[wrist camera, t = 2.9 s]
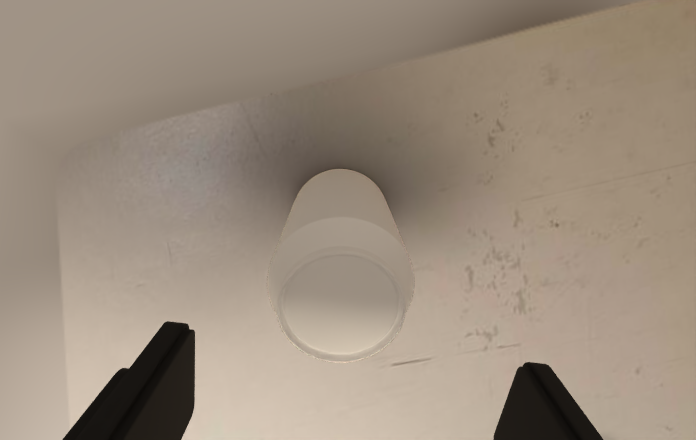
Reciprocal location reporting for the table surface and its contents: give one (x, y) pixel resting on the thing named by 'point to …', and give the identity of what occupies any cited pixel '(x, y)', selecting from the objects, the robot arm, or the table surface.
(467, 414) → the table surface
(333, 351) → the beverage can
